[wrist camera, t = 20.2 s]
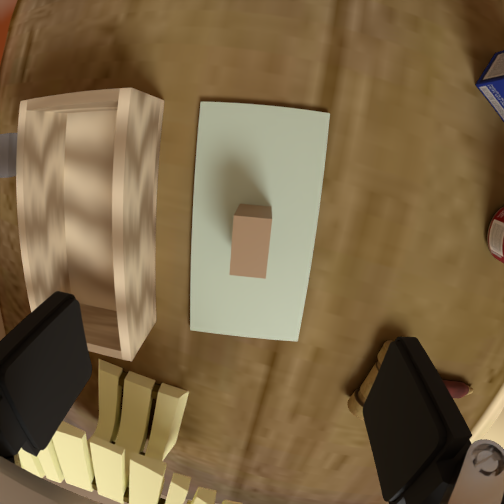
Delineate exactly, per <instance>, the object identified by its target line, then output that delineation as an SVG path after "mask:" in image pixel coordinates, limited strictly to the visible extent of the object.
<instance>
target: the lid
mask: <svg viewBox="0 0 504 504" xmlns="http://www.w3.org/2000/svg"><path fill="white" fill-rule="evenodd" d="M329 117H330V113H325V112H319V111H311V110H304V109H296V108H288V107H278V106H268V105H257V104H243V103H226V102H201V103H200V114H199V125H198V137H197V150H196V164H195V180H194V197H193V217H192V243H191V284H190V330H193V331H201V332H208V333H216V334H225V335H233V336H243V337H252V338H262V339H273V340H285V341H298V337H299V331H300V326H301V320H302V315H303V309H304V304H305V298H306V292H307V286H308V280H309V274H310V268H311V262H312V255H313V249H314V242H315V235H316V228H317V221H318V214H319V207H320V199H321V191H322V183H323V175H324V166H325V157H326V148H327V138H328V128H329Z"/></svg>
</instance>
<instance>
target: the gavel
mask: <svg viewBox="0 0 504 504" xmlns="http://www.w3.org/2000/svg"><path fill="white" fill-rule="evenodd" d="M391 342H392V340H389V341H386V342H385V343H384V345H383V347H382V348H381V350H380V352H379V353H378V356H377V357H378V361H377V362H376V363H375V365H374V366H373V368H372V369H371V371H370V373H369V374H368V376H367V377H366V379H365V380H364V382H363V384H362V385H361V387H360V389H356V390H355V391H354V393H353V394H352V396H351V397H350V399H349V400H348V408H349V410H350V411H351V413H352V414H353V415H355V416H356V417H357V418H359V419H362V420H364V417H363V405H364V403H365V401H366V398H367V396H368V394H369V392H370V390H371V387H372V385H373V383H374V381H375V378H376V376H377V374H378V371H379V369H380V367H381V364H382V362H383V359H384V357H385V354H386V352H387V349H388V347H389V345H390V343H391ZM443 382H444V384H445V386H446V387H447V389H448V391H449V393H450V394H451V396H452V398H461V397H463V396H465V395H468V394H471V393H472V392H473V389H472V388H471V387H469V386H468V385H466V384H465V383H463V382H458V381H448V380H443Z"/></svg>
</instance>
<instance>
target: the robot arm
mask: <svg viewBox="0 0 504 504" xmlns="http://www.w3.org/2000/svg"><path fill="white" fill-rule="evenodd" d="M91 373H92V365H91V361H90V357H89V352H88V347H87V342H86V337H85V332H84V327H83V321H82V315H81V309H80V304H79V301H78V300H76V298H75V296H74V295H73V294H69V293H65V292H61V291H56V292H54V293H53V294H52V295H51V296H50V297H49V298H47V299H46V300H45V301H44V302H43V303H42V304H40V305H39V306H38V307H37V308H36V309H35V310H34V311H32V312H31V313H30V314H29V315H28V316H27V317H26V318H25V319H24V320H22V321H21V322H20V323H19V324H18V325H17V326H16V327H15V328H14V329H13V330H11V331H10V332H9V333H8V334H7V335H6V336H5V337H4V338H3V339H2V340H1V341H0V504H102V503H99V502H96V501H93V500H91V499H88V498H85V497H83V496H80V495H78V494H76V493H73V492H71V491H68V490H66V489H64V488H61V487H59V486H57V485H55V484H53V483H51V482H48V481H46V480H44V479H42V478H40V477H38V476H36V475H34V474H32V473H30V472H29V471H27V470H25V469H23V468H22V467H21V463H20V458H19V453H18V452H19V451H20V449H21V447H22V449H23V450H24V451H26V452H28V453H30V454H32V455H34V456H36V457H37V455H38V454H39V452H40V450H44V449H45V448H46V447H47V446H48V444H49V442H50V441H51V439H52V437H53V436H54V434H55V432H56V431H57V429H58V427H59V426H60V424H61V422H62V421H63V419H64V418H65V416H66V414H67V413H68V411H69V409H70V408H71V406H72V405H73V403H74V402H75V400H76V398H77V397H78V395H79V394H80V392H81V391H82V389H83V388H84V386H85V384H86V383H87V381H88V380H89V378H90V376H91ZM363 417H364V421H365V425H366V428H367V432H368V436H369V440H370V444H371V448H372V452H373V456H374V460H375V464H376V469H377V473H378V477H379V481H380V486H381V490H382V495H383V498H384V500H385V501H386V502H388V501H389V504H504V449H503V448H502V447H501V446H500V445H499V444H497V443H495V442H494V441H491V440H478V441H475V442H474V443H473V444H471V442H470V440H469V439H470V437H471V436H472V434H471V432H470V430H469V428H468V426H467V424H466V422H465V420H464V418H463V416H462V415H461V413H460V411H459V409H458V407H457V405H456V403H455V402H454V400H453V398H452V396H451V394H450V393H449V391H448V389H447V387H446V386H445V384H444V382H443V380H442V379H441V377H440V375H439V373H438V372H437V370H436V368H435V367H434V365H433V363H432V362H431V360H430V358H429V357H428V355H427V353H426V352H425V350H424V348H423V347H422V345H421V344H420V342H419V340H418V339H417V338H415V337H397V338H396V340H395V341H392V342H391V343H390V345H389V347H388V349H387V352H386V354H385V357H384V359H383V362H382V364H381V367H380V369H379V371H378V374H377V376H376V378H375V381H374V383H373V385H372V387H371V390H370V392H369V394H368V396H367V398H366V401H365V403H364V405H363Z"/></svg>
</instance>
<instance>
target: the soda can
mask: <svg viewBox="0 0 504 504" xmlns="http://www.w3.org/2000/svg"><path fill="white" fill-rule="evenodd" d="M487 243H488V248H489V251H490V253H491V254H492V256H493V257H495V258H496V259H498V260H499V261H501V262H502V263H504V207H502V208H500V209H499V210H498V211H497V212H496V213H495V215H494V216H493V218H492V220H491V222H490V225H489V228H488V234H487Z"/></svg>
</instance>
